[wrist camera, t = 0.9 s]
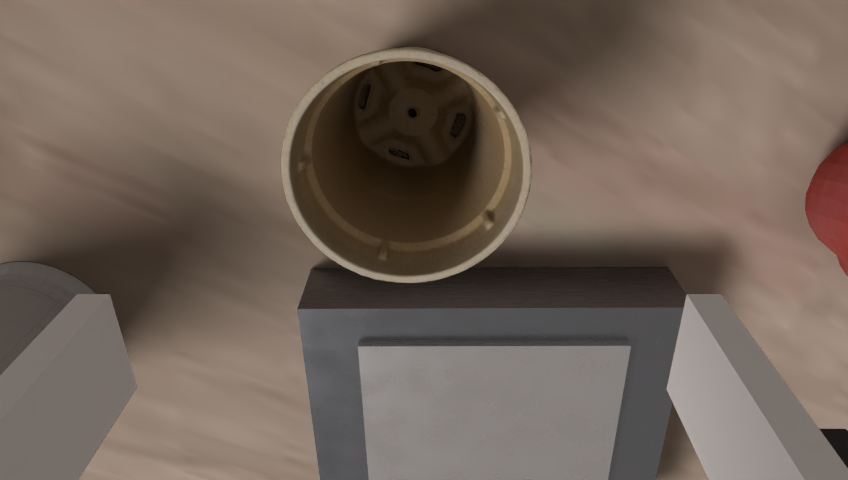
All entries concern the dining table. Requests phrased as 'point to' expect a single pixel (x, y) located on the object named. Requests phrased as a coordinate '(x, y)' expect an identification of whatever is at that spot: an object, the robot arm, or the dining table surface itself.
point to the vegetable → (831, 204)
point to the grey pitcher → (31, 303)
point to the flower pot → (406, 166)
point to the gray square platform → (491, 373)
